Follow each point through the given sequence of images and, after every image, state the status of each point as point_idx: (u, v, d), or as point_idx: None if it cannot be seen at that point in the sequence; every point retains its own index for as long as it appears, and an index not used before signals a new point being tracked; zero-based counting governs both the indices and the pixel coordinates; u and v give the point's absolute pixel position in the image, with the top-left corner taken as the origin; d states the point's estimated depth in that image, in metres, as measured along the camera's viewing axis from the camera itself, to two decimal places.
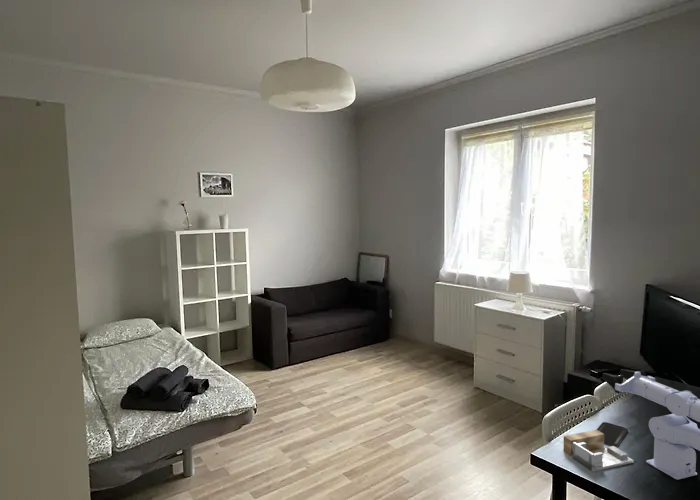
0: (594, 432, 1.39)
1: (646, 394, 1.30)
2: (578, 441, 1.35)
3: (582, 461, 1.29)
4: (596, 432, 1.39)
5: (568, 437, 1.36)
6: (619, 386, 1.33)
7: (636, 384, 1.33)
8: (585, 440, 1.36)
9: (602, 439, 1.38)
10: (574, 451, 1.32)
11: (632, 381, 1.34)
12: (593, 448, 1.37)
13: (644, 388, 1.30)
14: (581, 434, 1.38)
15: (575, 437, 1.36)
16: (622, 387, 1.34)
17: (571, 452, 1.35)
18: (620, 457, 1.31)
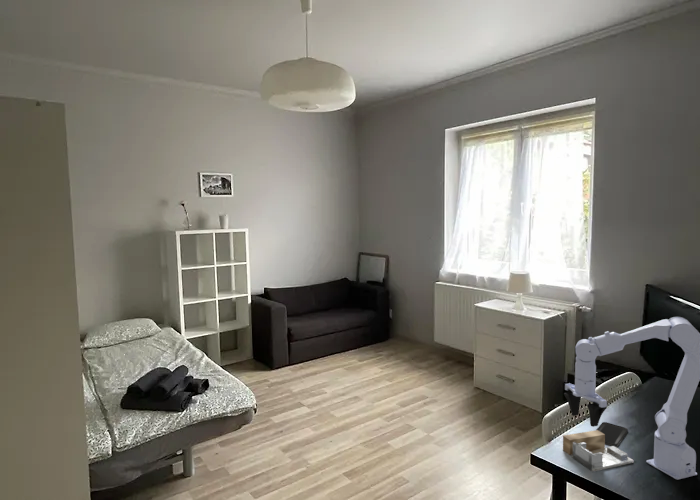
0: (595, 433, 1.38)
1: (587, 380, 1.33)
2: (577, 441, 1.35)
3: (582, 461, 1.29)
4: (597, 432, 1.39)
5: (567, 436, 1.37)
6: (602, 402, 1.29)
7: (588, 391, 1.33)
8: (584, 440, 1.36)
9: (603, 439, 1.37)
10: (574, 451, 1.32)
11: (587, 395, 1.34)
12: (593, 448, 1.37)
13: (589, 382, 1.33)
14: (581, 434, 1.38)
15: (574, 437, 1.36)
16: (601, 400, 1.30)
17: (570, 452, 1.35)
18: (620, 457, 1.31)
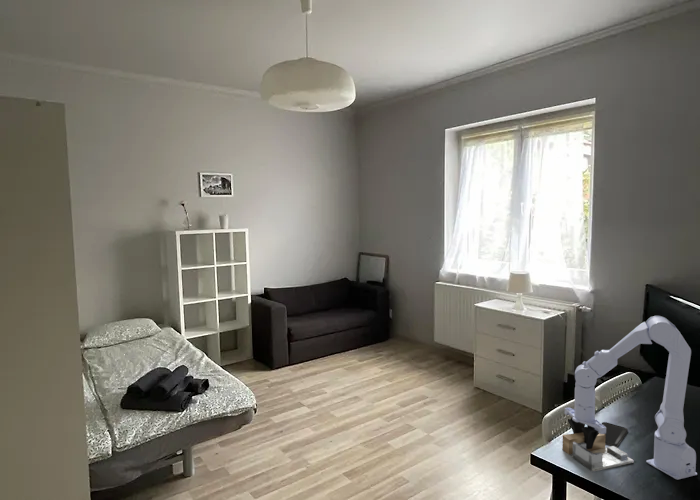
0: None
1: (587, 405, 1.34)
2: (577, 441, 1.35)
3: (582, 461, 1.29)
4: None
5: (567, 436, 1.37)
6: (602, 429, 1.30)
7: (587, 417, 1.34)
8: (584, 440, 1.36)
9: (603, 439, 1.37)
10: (574, 451, 1.32)
11: (586, 421, 1.34)
12: (593, 448, 1.37)
13: (589, 408, 1.34)
14: (581, 434, 1.38)
15: (574, 436, 1.36)
16: (600, 426, 1.31)
17: (569, 451, 1.35)
18: (620, 457, 1.31)
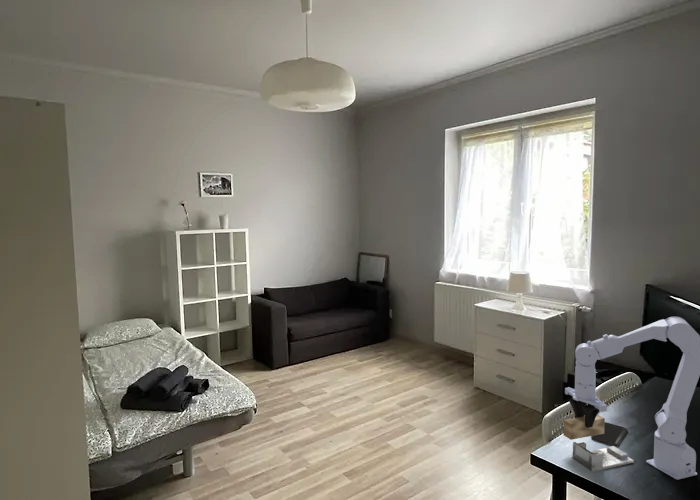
0: None
1: (587, 384, 1.33)
2: (578, 425, 1.35)
3: (582, 461, 1.29)
4: (596, 416, 1.38)
5: (568, 420, 1.36)
6: (602, 406, 1.29)
7: (588, 395, 1.34)
8: None
9: (602, 423, 1.37)
10: (574, 451, 1.32)
11: (587, 399, 1.34)
12: (593, 432, 1.36)
13: (589, 386, 1.33)
14: (581, 418, 1.37)
15: (575, 421, 1.36)
16: (601, 404, 1.30)
17: (571, 436, 1.34)
18: (620, 457, 1.31)
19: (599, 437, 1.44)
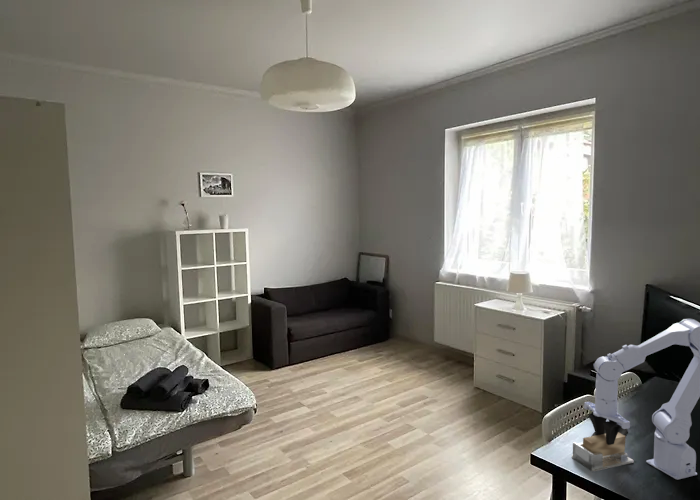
0: None
1: (611, 399, 1.28)
2: (598, 444, 1.29)
3: (582, 461, 1.29)
4: (617, 434, 1.33)
5: (588, 439, 1.30)
6: (625, 423, 1.24)
7: (609, 411, 1.28)
8: (605, 443, 1.30)
9: (623, 441, 1.32)
10: (574, 451, 1.32)
11: (608, 415, 1.28)
12: (613, 451, 1.31)
13: (611, 402, 1.28)
14: (601, 436, 1.32)
15: (595, 439, 1.30)
16: (623, 421, 1.25)
17: None
18: (620, 457, 1.31)
19: None
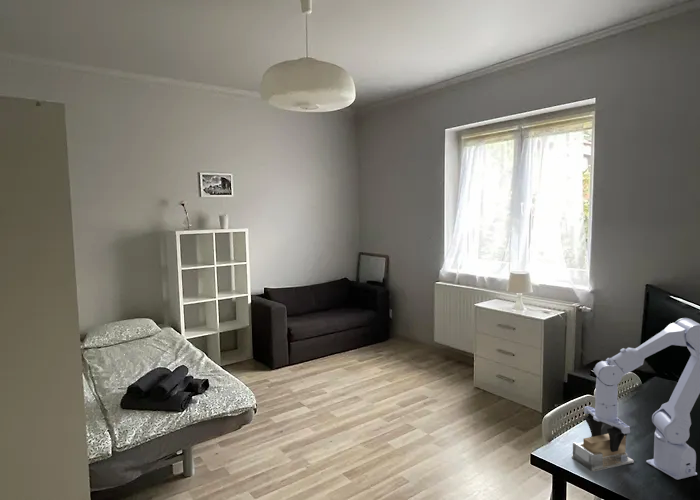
0: None
1: (611, 404, 1.28)
2: (599, 444, 1.29)
3: (582, 461, 1.29)
4: None
5: (588, 439, 1.30)
6: (625, 428, 1.24)
7: (609, 416, 1.28)
8: (606, 443, 1.30)
9: (623, 441, 1.32)
10: (574, 451, 1.32)
11: (608, 420, 1.28)
12: None
13: (611, 407, 1.28)
14: (601, 436, 1.32)
15: (596, 440, 1.30)
16: (623, 426, 1.25)
17: None
18: (620, 457, 1.31)
19: None
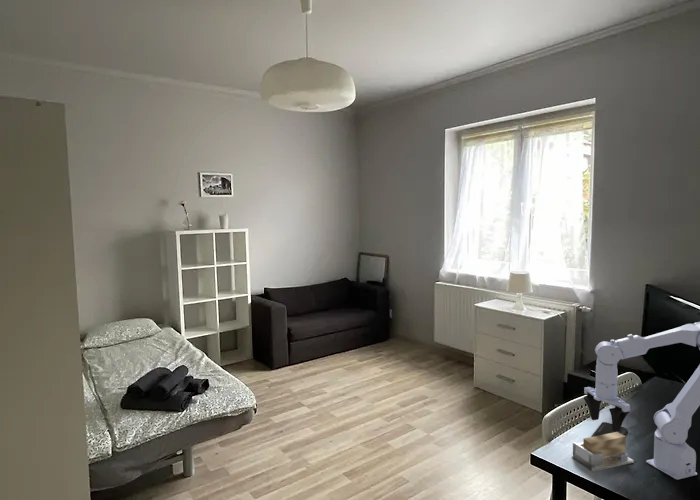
0: (615, 435, 1.33)
1: (610, 383, 1.29)
2: (599, 444, 1.29)
3: (582, 461, 1.29)
4: (617, 434, 1.33)
5: (588, 439, 1.30)
6: (625, 406, 1.25)
7: (610, 395, 1.30)
8: (606, 443, 1.30)
9: (623, 441, 1.32)
10: (574, 451, 1.32)
11: (609, 399, 1.30)
12: (614, 451, 1.31)
13: (611, 386, 1.29)
14: (601, 436, 1.32)
15: (596, 440, 1.30)
16: (623, 404, 1.27)
17: None
18: (620, 457, 1.31)
19: None
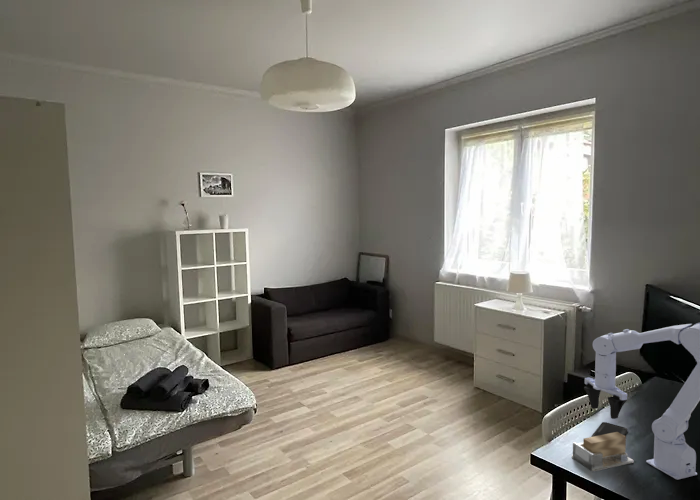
0: (615, 435, 1.33)
1: (603, 373, 1.38)
2: (599, 444, 1.29)
3: (582, 461, 1.29)
4: (617, 434, 1.33)
5: (588, 439, 1.30)
6: (623, 395, 1.33)
7: (608, 384, 1.38)
8: (606, 443, 1.30)
9: (623, 441, 1.32)
10: (574, 451, 1.32)
11: (607, 388, 1.38)
12: (614, 451, 1.31)
13: (609, 376, 1.37)
14: (601, 436, 1.32)
15: (596, 440, 1.30)
16: (621, 393, 1.34)
17: None
18: (620, 457, 1.31)
19: None
